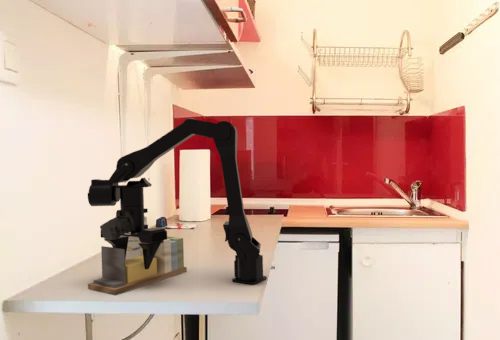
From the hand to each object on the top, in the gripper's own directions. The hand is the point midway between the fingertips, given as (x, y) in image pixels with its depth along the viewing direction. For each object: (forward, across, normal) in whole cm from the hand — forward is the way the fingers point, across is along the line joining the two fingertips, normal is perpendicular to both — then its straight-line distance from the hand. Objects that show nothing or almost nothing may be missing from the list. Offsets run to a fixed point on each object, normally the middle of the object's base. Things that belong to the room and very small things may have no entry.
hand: (134, 267), depth 111 cm
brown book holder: (+4, 0, +2) cm, 4 cm away
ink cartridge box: (+4, -11, +9) cm, 15 cm away
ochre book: (+2, 0, 0) cm, 2 cm away
